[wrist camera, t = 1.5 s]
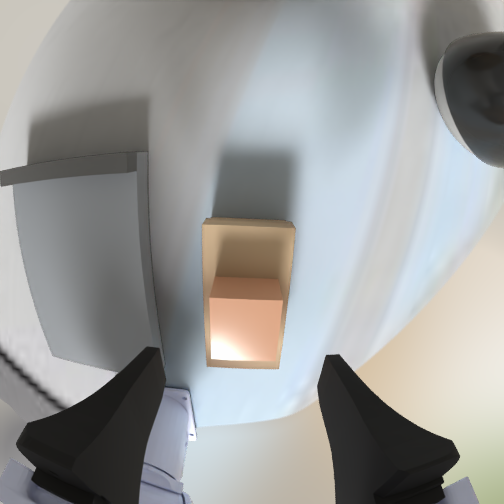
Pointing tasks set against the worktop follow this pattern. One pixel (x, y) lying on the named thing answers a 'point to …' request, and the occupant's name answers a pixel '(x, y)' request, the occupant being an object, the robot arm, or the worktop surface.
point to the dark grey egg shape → (474, 94)
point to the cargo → (245, 318)
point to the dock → (89, 255)
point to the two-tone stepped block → (246, 267)
